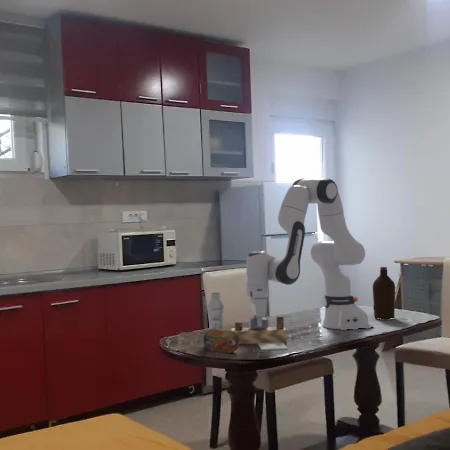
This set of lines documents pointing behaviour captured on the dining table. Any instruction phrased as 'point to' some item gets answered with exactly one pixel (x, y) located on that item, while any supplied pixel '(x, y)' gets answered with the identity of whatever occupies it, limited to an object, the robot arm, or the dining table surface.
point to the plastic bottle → (216, 312)
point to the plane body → (261, 333)
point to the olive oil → (384, 296)
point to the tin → (221, 340)
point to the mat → (272, 346)
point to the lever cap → (254, 323)
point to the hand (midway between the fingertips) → (258, 324)
